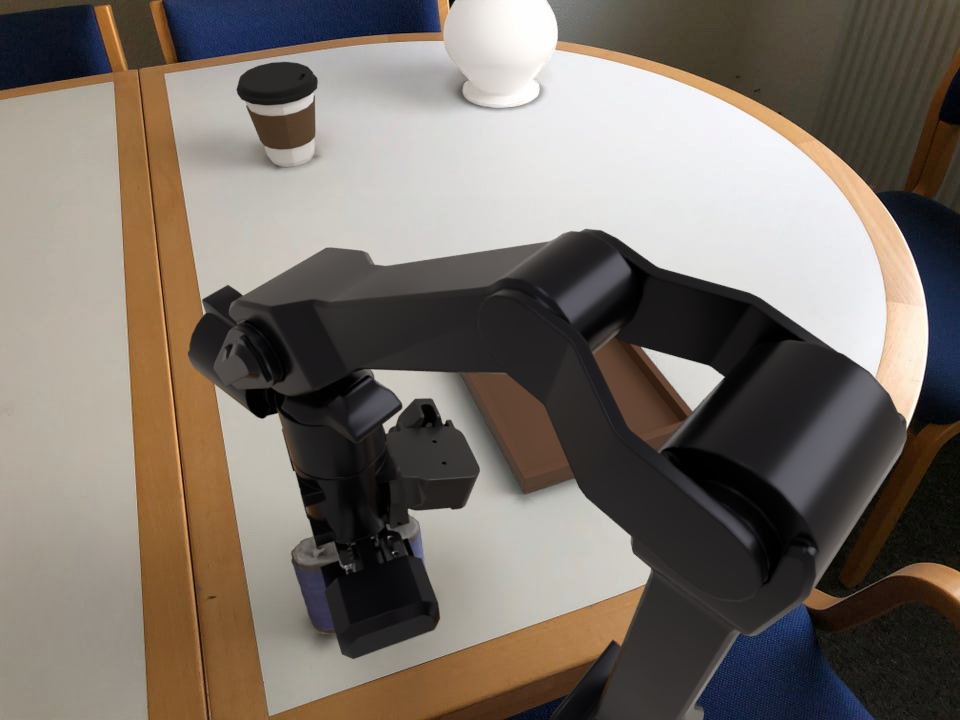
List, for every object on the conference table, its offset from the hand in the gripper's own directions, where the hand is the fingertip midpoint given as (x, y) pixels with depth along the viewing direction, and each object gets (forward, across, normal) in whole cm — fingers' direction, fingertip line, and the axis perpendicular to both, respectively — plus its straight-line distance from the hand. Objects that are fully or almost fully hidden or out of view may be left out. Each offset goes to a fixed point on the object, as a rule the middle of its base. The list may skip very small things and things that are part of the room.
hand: (369, 582), depth 59 cm
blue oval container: (+4, 0, 0) cm, 4 cm away
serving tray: (+4, +18, -24) cm, 30 cm away
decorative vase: (+4, +83, -44) cm, 94 cm away
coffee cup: (+4, +75, -8) cm, 76 cm away
